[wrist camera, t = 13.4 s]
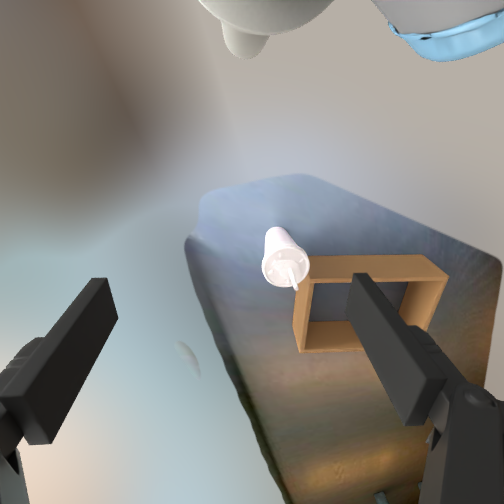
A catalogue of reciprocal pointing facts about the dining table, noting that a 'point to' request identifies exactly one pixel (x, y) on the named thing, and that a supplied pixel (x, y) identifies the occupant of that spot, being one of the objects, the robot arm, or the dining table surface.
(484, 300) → the dining table surface
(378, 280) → the wooden box
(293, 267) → the smoothie
